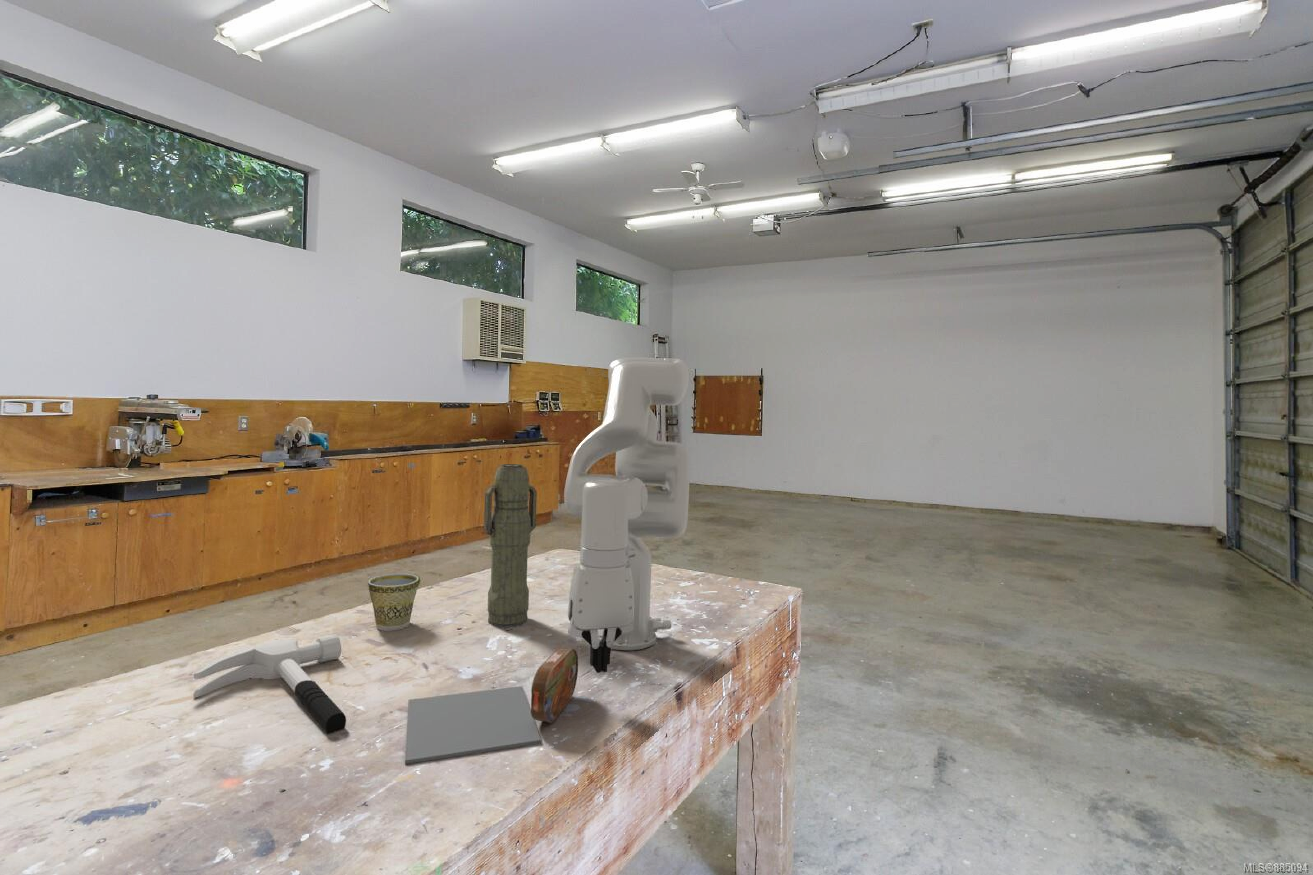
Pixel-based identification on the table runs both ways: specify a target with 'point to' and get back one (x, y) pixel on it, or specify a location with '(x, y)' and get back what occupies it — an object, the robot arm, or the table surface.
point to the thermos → (509, 544)
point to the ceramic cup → (393, 599)
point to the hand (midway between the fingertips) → (599, 669)
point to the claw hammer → (281, 673)
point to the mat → (468, 724)
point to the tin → (554, 685)
